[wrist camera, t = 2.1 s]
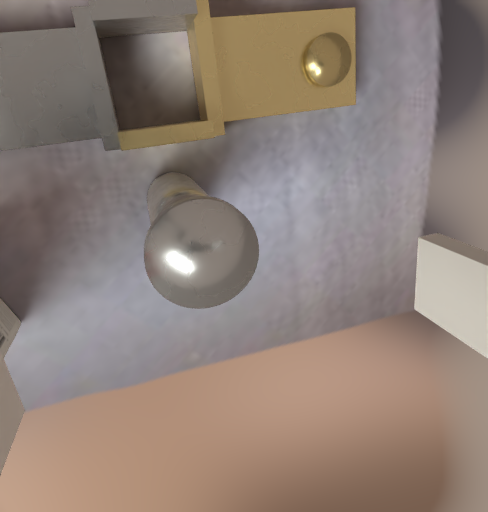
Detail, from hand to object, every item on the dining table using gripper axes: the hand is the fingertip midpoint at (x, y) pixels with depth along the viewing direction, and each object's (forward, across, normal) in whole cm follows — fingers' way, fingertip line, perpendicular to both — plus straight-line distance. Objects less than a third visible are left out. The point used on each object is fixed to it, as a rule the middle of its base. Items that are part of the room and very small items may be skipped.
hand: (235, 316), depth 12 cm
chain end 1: (+18, -6, +8) cm, 21 cm away
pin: (+18, 0, 0) cm, 18 cm away
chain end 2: (+18, +5, +8) cm, 21 cm away
